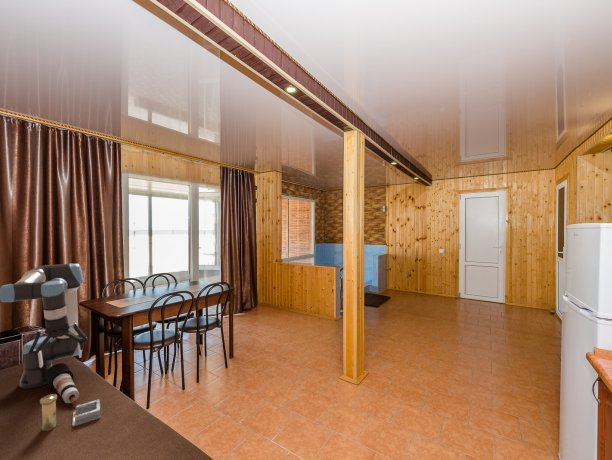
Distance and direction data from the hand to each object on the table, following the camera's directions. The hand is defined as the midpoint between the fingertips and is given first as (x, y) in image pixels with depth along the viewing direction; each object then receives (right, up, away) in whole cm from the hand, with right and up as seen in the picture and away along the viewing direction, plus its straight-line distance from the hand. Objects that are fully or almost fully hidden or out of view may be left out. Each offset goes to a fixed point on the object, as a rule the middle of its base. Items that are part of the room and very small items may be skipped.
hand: (61, 361), depth 133 cm
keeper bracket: (+9, -26, +3) cm, 28 cm away
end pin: (-1, -27, -5) cm, 27 cm away
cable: (-15, -26, +20) cm, 36 cm away
